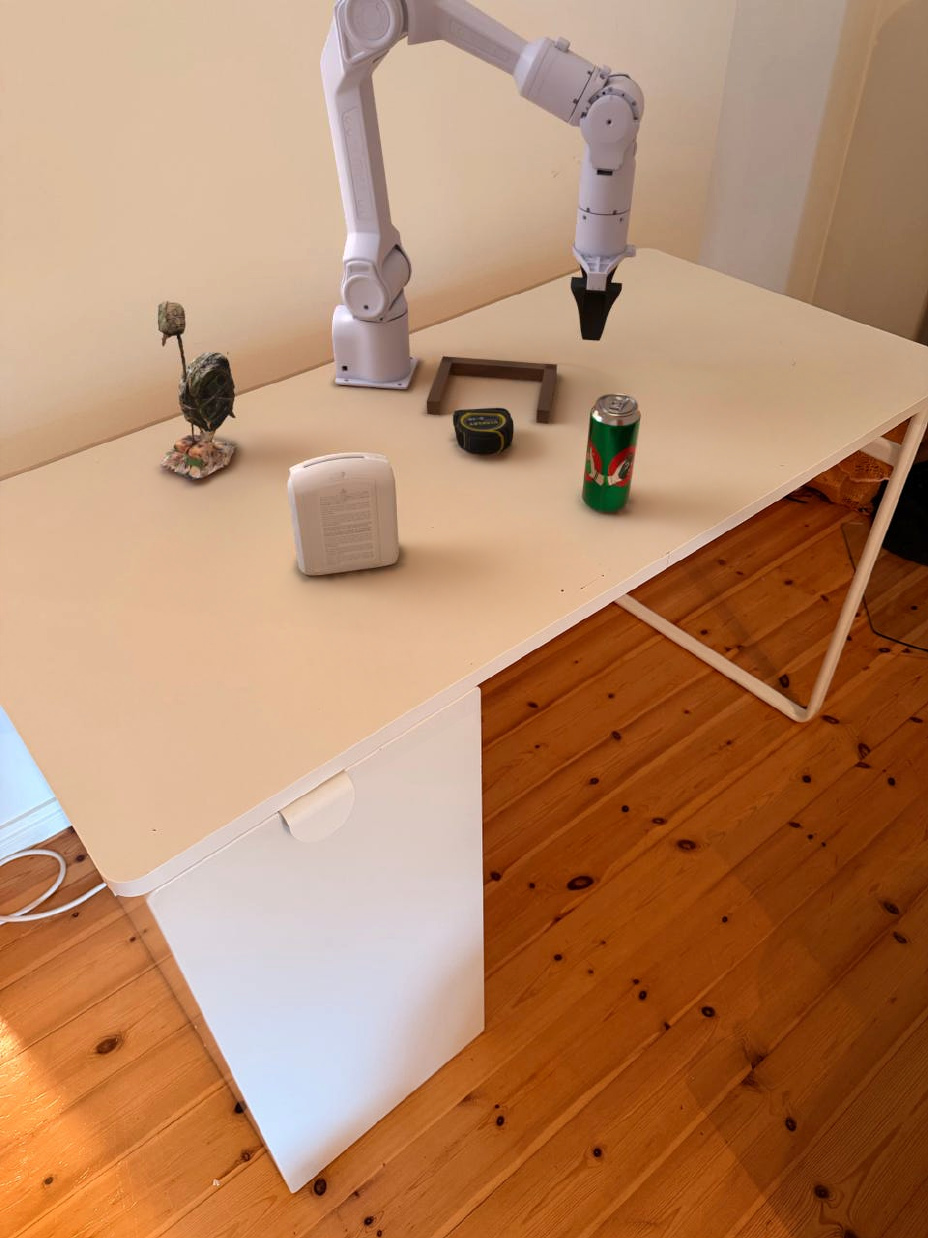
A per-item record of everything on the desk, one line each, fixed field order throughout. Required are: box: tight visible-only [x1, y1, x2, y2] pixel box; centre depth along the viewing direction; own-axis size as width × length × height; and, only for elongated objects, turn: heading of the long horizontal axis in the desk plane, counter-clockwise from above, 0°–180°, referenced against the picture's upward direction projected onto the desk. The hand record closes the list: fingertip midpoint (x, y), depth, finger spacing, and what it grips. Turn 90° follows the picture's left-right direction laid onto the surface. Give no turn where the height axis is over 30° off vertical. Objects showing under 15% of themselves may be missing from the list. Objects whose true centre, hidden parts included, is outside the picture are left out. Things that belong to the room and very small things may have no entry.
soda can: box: [581, 392, 642, 514], centre depth 97 cm, size 5×5×12 cm
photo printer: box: [286, 451, 400, 576], centre depth 90 cm, size 10×4×12 cm, turn 103°
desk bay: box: [426, 355, 558, 424], centre depth 117 cm, size 15×12×2 cm
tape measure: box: [452, 407, 515, 456], centre depth 108 cm, size 7×7×4 cm
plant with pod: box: [157, 300, 237, 482], centre depth 101 cm, size 8×11×20 cm
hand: (592, 323), depth 110 cm, fingers open, 7 cm apart
